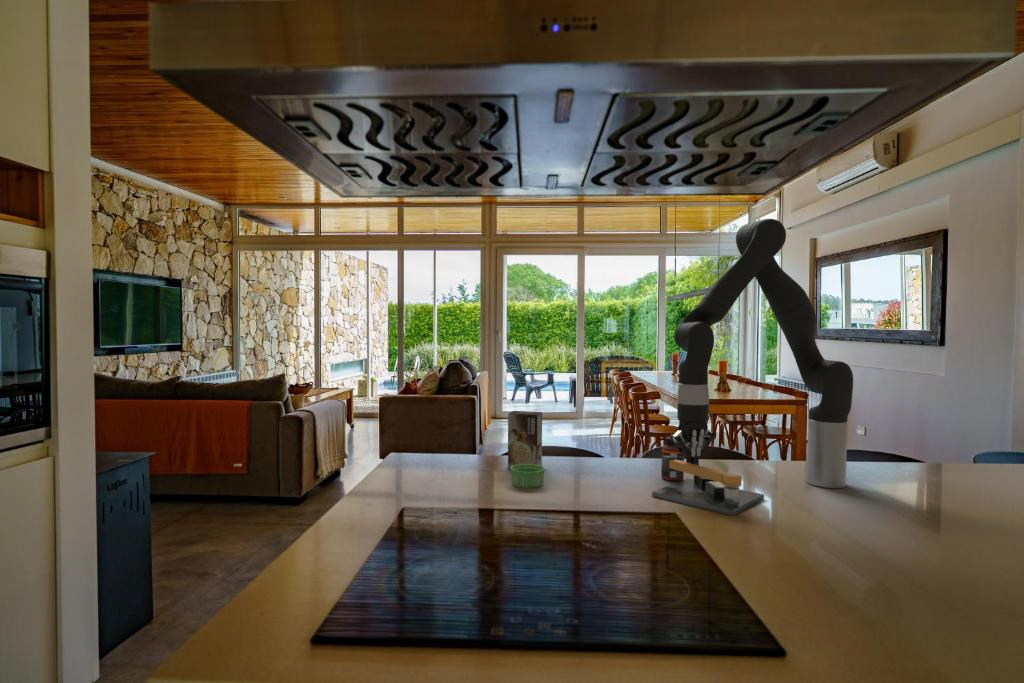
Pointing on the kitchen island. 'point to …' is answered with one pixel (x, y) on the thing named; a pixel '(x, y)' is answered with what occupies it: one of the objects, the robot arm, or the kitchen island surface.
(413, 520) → the kitchen island surface
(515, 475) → the ramekin
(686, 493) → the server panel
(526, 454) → the coffee box
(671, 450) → the supplement bottle
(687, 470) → the light wooden bar
